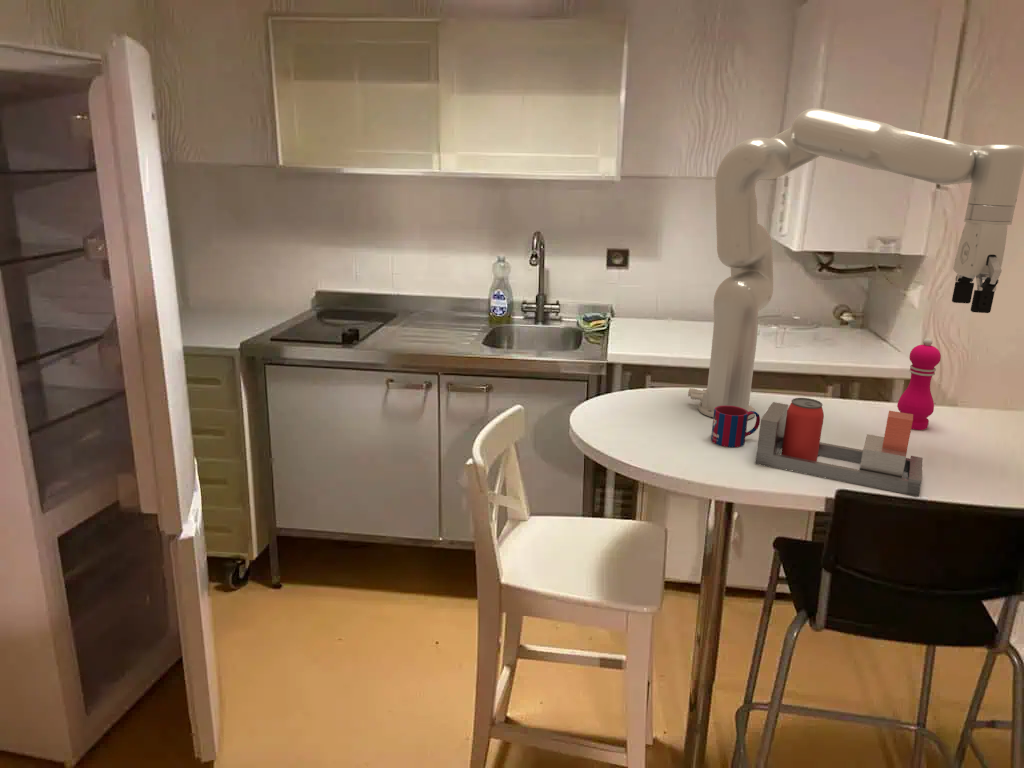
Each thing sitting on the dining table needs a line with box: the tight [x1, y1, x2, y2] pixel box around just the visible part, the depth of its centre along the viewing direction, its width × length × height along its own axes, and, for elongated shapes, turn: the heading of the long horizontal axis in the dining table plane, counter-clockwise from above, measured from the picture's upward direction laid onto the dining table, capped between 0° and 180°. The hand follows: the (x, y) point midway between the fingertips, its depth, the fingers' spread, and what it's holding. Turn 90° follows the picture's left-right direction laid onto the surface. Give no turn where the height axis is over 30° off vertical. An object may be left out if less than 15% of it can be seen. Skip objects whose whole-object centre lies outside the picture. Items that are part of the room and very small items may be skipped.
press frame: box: [754, 401, 924, 497], centre depth 144 cm, size 28×12×9 cm, turn 62°
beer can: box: [780, 397, 825, 462], centre depth 147 cm, size 7×7×12 cm
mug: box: [710, 405, 761, 448], centre depth 157 cm, size 7×10×7 cm
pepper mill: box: [896, 337, 941, 431], centre depth 168 cm, size 7×7×20 cm
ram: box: [859, 410, 913, 478], centre depth 141 cm, size 7×9×12 cm
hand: (970, 307), depth 145 cm, fingers open, 9 cm apart
